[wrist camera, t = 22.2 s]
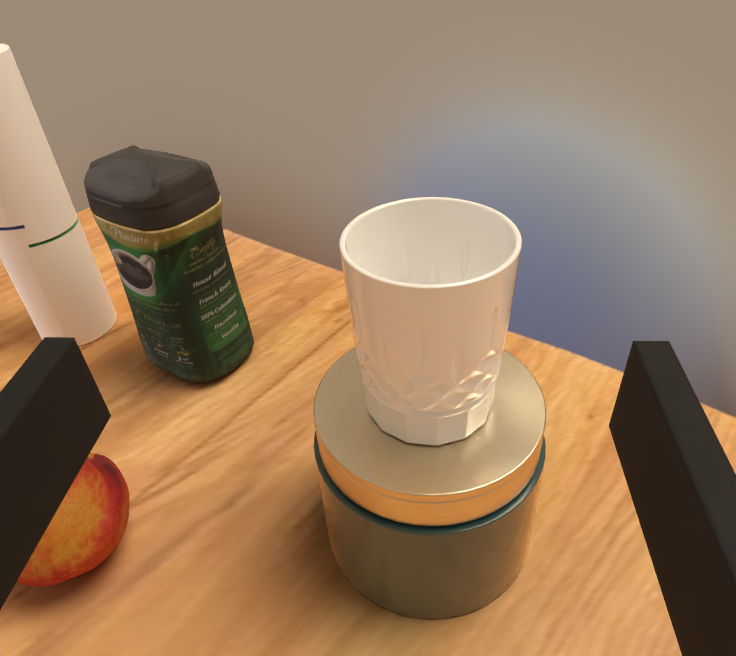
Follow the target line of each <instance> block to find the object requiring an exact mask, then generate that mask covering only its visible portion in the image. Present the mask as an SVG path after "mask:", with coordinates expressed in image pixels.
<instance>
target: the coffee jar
mask: <svg viewBox="0 0 736 656" xmlns="http://www.w3.org/2000/svg"><path fill="white" fill-rule="evenodd" d="M84 182H85V183H84V184H85V189H86V193H87V197H88V201H89V204H90V209H91V211H92V214H93V216H94V218H95V220H96V222H97V224H98V226H99V228H100V230H101V231H102V233H103V235H104V237H105V239H106V241H107V243H108V246H109V248H110V250H111V252H112V255H113V257H114V260H115V263H116V266H117V268H118V271H119V274H120V277H121V280H122V283H123V286H124V289H125V292H126V295H127V298H128V301H129V304H130V307H131V310H132V313H133V317H134V320H135V323H136V326H137V330H138V333H139V336H140V339H141V342H142V345H143V348H144V351H145V353H146V356H147V357H148V359H149V360H150V361H151V362H153V363H154V364H155V365H157V366H158V367H160V368H161V369H163V370H165V371H166V372H168V373H170V374H172V375H174V376H177V377H179V378H182V379H184V380H187V381H191V382H195V383H204V382H207V381H211V380H214V379H217V378H219V377H221V376H223V375H226V374H228V373H229V372H231V371H232V370H234V369H235V368H236V367H237V366H238V365H240V364H241V363H242V362H243V361H244V360H245V359H246V357H247V356H248V355H249V354H250V352H251V350H252V348H253V344H254V340H253V336H252V332H251V328H250V324H249V320H248V317H247V314H246V310H245V307H244V304H243V301H242V298H241V295H240V292H239V289H238V285H237V282H236V278H235V275H234V271H233V268H232V264H231V261H230V257H229V254H228V250H227V247H226V243H225V239H224V234H223V228H222V220H221V214H222V202H221V196H220V193H219V191H218V188H217V184H216V182H215V179H214V176H213V173H212V170H211V168H210V166H209V165H208V164H207V163H205V162H203V161H199V160H195V159H191V158H187V157H182V156H178V155H174V154H169V153H165V152H160V151H153V150H146V149H140V148H138V147H136V146H130V147H128V148H125V149H122V150H120V151H117V152H114V153H112V154H109V155H107V156H104V157H102V158H99V159H97V160H95V161H93V162H91V164H90V167H89V170H88V171H87V173H86V175H85V180H84Z"/></svg>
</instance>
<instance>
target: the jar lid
mask: <svg viewBox="0 0 736 656" xmlns="http://www.w3.org/2000/svg"><path fill="white" fill-rule="evenodd" d="M313 414H314V422H315V429H316V435H317V441H318V447H319V453H320V456H321V459H322V463H323V465H324V467H325V469H326V471H327V473H328V475H329V476H330V478H331V479H332V481H333V482H334V483H335V485H336V486H337V487H338V488H339V489H340V490H341V491H342V492H343V493H344V494H345V495H346V496H347V497H348V498H350V499H351V500H352V501H353V502H355V503H356V504H358V505H359V506H361V507H363V508H364V509H366V510H368V511H369V512H372V513H374V514H376V515H379V516H381V517H383V518H386V519H390V520H393V521H396V522H400V523H406V524H411V525H420V526H445V525H454V524H459V523H465V522H468V521H472V520H475V519H478V518H481V517H484V516H486V515H488V514H490V513H493V512H495V511H496V510H498V509H500V508H501V507H503V506H504V505H506V504H508V503H509V502H510V501H511V500H512V499H513V498H515V497H516V496H517V495H518V494H519V493H520V492H521V491H522V490H523V489H524V487H525V486H526V485H527V484H528V482H529V481H530V479H531V477H532V476H533V474H534V472H535V469H536V467H537V464H538V462H539V457H540V452H541V446H542V441H543V435H544V430H545V424H546V406H545V400H544V397H543V394H542V391H541V388H540V386H539V385H538V383H537V381H536V379H535V377H534V376H533V375H532V374H531V372H530V371H529V370H528V368H527V367H526V366H525V365H524V364H523V363H522V362H520V361H519V360H518V359H517V358H516V357H514V356H513V355H512V354H511V353H509V352H508V351H506V350H503V355H502V360H501V366H500V370H499V374H498V377H497V378H496V384H495V390H494V397H493V402H492V405H491V408H490V410H489V413H488V416H487V419H486V421H485V423H484V424H483V425H481V426H480V427H479V428H478V429H476V430H475V431H474V432H472V433H471V434H470V435H469V436H467V437H466V438H464V439H461V440H457V441H453V442H449V443H445V444H441V445H437V446H435V445H425V444H415V443H407V442H405V441H403V440H401V439H399V438H397V437H395V436H393V435H391V434H389V433H387V432H385V431H383V430H382V429H381V428H380V427H379V425H378V424H377V423H376V421H375V420H374V419H373V417H372V416H371V415H370V413H369V412H368V409H367V402H366V395H365V388H364V382H363V376H362V372H361V369H360V367H359V363H358V358H357V353H356V348H353V349H351V350H350V351H349V352H347V353H346V354H344V355H343V356H342V357H341V358H339V359H338V360H337V361H336V362H335V363H334V364H333V365H332V366H331V368H330V369H329V370H328V371H327V372H326V374H325V376H324V377H323V379H322V380H321V382H320V385H319V387H318V389H317V392H316V396H315V400H314V410H313Z"/></svg>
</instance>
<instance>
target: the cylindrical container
mask: <svg viewBox="0 0 736 656" xmlns="http://www.w3.org/2000/svg"><path fill="white" fill-rule="evenodd" d="M0 259H1V261H2V263H3V265H4V267H5V269H6V271H7V273H8V275H9V277H10V278H11V280H12V282H13V284H14V286H15V288H16V290H17V292H18V294H19V296H20V298H21V300H22V302H23V304H24V306H25V308H26V309H27V311H28V313H29V315H30V317H31V319H32V321H33V323H34V325H35V327H36V329H37V331H38V333H39V335H40V337H41V339H42V340H43V339H44V337H74V338H75V340H76V342H77V344H78V346H80V345H84V344H87V343H89V342H92V341H94V340H96V339H98V338H100V337H101V336H103V335H104V334H106V333H107V332H108V331H109V330H110V329H111V328H112V327H113V325H114V324H115V322H116V320H117V313H116V311H115V308H114V306H113V303H112V301H111V298H110V296H109V293H108V291H107V288H106V286H105V283H104V281H103V278H102V276H101V273H100V271H99V268H98V266H97V263H96V261H95V258H94V256H93V253H92V251H91V249H90V246H89V244H88V241H87V239H86V236H85V234H84V231H83V229H82V226H81V224H80V221H79V219H78V217H77V214H76V211H75V209H74V207H73V204H72V201H71V199H70V196H69V194H68V191H67V189H66V186H65V184H64V182H63V179H62V176H61V174H60V171H59V169H58V167H57V164H56V161H55V159H54V157H53V154H52V152H51V149H50V147H49V144H48V142H47V139H46V137H45V134H44V132H43V129H42V127H41V124H40V122H39V119H38V117H37V114H36V112H35V109H34V107H33V104H32V102H31V99H30V97H29V94H28V92H27V90H26V87H25V84H24V82H23V79H22V77H21V74H20V72H19V69H18V67H17V64H16V62H15V59H14V57H13V55H12V52H11V50H10V47H9V46H8V45H6V44H0Z"/></svg>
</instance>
